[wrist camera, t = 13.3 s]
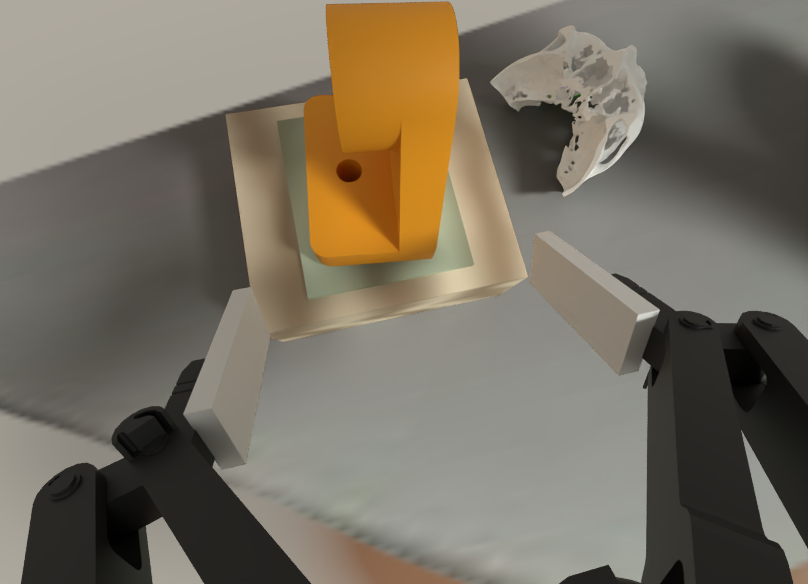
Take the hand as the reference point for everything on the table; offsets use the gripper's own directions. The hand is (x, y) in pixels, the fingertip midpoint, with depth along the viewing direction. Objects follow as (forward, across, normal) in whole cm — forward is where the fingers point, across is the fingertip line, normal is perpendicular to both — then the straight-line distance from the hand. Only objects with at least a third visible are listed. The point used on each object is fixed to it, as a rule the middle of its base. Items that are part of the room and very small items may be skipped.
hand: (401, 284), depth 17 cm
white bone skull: (+19, +20, +1) cm, 27 cm away
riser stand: (+15, 0, -3) cm, 15 cm away
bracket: (+10, 0, +1) cm, 10 cm away
